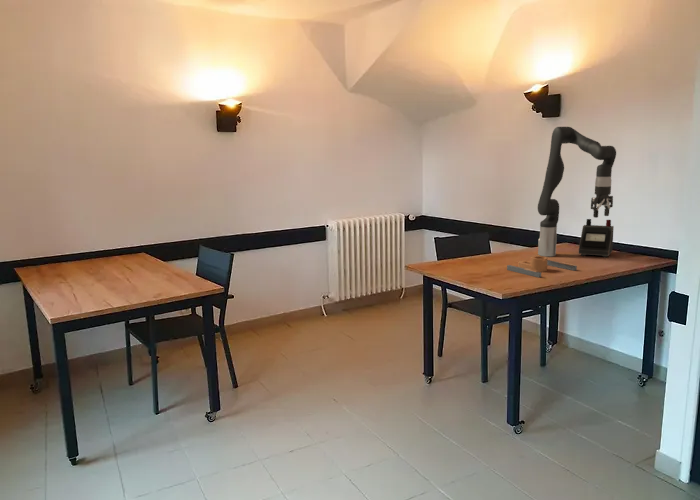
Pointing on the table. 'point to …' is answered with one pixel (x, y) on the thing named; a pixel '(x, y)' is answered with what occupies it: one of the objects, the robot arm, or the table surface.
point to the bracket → (535, 263)
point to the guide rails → (538, 274)
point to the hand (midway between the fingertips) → (601, 216)
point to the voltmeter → (596, 239)
